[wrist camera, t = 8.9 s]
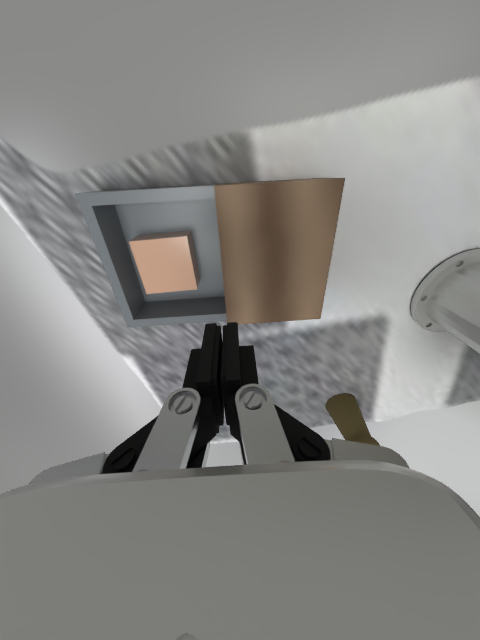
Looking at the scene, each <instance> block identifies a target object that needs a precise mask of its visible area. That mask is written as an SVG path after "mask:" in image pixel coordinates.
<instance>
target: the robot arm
mask: <svg viewBox="0 0 480 640" xmlns="http://www.w3.org/2000/svg"><path fill="white" fill-rule="evenodd" d="M411 314H412V317H413V319H414V320H415V322H416V323H418V324H419V325H420V326H421V327H423V328H424V329H426V330H430V331H436V332H441V331H448V332H450V333H451V334H452V335H454V336H455V337H457V338H458V339H460V340H461V341H463V342H464V343H465V344H467V345H468V346H470V347H471V348H473V349H474V350H476V351H477V352H478V353H480V249H473V250H469V251H465V252H463V253H460V254H458V255H455V256H453V257H452V258H450V259H448V260H446V261H445V262H443V263H442V264H440V265H439V266H438V267H436V268H435V269H434V270H433V271H432V272H431V273H430V274H428V276H427V277H426V278H425V279H424V280H423V281H422V283H421V284H420V286H419V287H418V289H417V290H416V292H415V294H414V296H413V299H412V303H411ZM224 409H225V416H226V423H227V425H230V433H231V435H232V436H233V437H235V438H236V439H237V440H238V441H239V445H240V451H241V456H242V462H243V465H236V466H220V467H205V466H206V461H207V457H208V452H209V448H210V441H211V440H212V439H213V438H214V437H215V436H216V433H219V426H220V425H223V423H224ZM0 640H480V517H479V516H478V515H477V514H476V512H475V511H474V510H473V509H472V508H471V507H470V506H469V505H468V504H467V503H466V502H465V501H464V500H463V499H462V498H461V497H460V496H459V495H457V494H456V493H455V492H454V491H453V490H452V489H450V488H449V487H447V486H446V485H444V484H443V483H441V482H439V481H438V480H435V479H434V478H431V477H429V476H427V475H425V474H423V473H420V472H418V471H415V470H412V469H410V468H409V466H408V465H407V463H406V461H405V460H404V459H403V458H402V457H401V456H400V455H399V454H398V453H396V452H395V451H393V450H392V449H389V448H386V447H382V446H376V445H370V444H364V443H359V442H353V441H347V440H341V439H335V438H332V440H325V439H323V438H322V437H321V436H320V435H319V434H317V433H316V432H314V431H313V430H311V429H310V428H308V427H307V426H305V425H304V424H302V423H301V422H300V421H298V420H297V419H295V418H294V417H292V416H291V415H289V414H288V413H286V412H285V411H283V410H282V409H281V408H279V407H278V406H276V405H275V404H274V403H273V401H272V398H271V395H270V393H269V391H268V390H267V389H266V388H265V387H263V386H261V385H259V383H258V376H257V369H256V361H255V354H254V347H253V345H251V346H239V339H238V324H237V322H229V323H227V325H224V326H223V343H222V334H221V326H217V324H216V323H212V324H206V325H205V331H204V336H203V342H202V348H201V349H192V350H191V353H190V358H189V362H188V366H187V371H186V375H185V379H184V384H183V388H181V389H178V390H176V391H174V392H172V393H171V394H170V395H169V396H168V398H167V399H166V401H165V403H164V405H163V407H162V409H161V411H160V414H159V416H157V417H156V418H155V419H153V420H152V421H151V422H149V423H148V424H147V425H145V426H144V427H143V428H141V429H140V430H139V431H137V432H136V433H135V434H133V435H132V436H131V437H129V438H128V439H127V440H125V441H124V442H123V443H121V444H120V445H119V446H117V447H116V448H115V449H114V450H113V451H112V452H111V453H110V454H105V452H104V453H101V454H97V455H93V456H90V457H86V458H83V459H79V460H76V461H72V462H69V463H65V464H62V465H58V466H55V467H51V468H49V469H47V470H44V471H43V472H41V473H40V474H38V475H37V476H36V477H35V478H34V479H33V480H32V481H31V482H30V483H29V484H28V485H25V486H21V487H18V488H15V489H12V490H10V491H7V492H5V493H2V494H0Z"/></svg>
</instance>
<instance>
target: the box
mask: <svg viewBox="0 0 480 640" xmlns="http://www.w3.org/2000/svg"><path fill="white" fill-rule="evenodd" d="M215 185H216V184H210V185H193V186H176V187H159V188H141V189H124V190H107V191H96V192H86V193H77V194H75V195H76V197H77V200H78V202H79V205H80V207H81V210H82V212H83V215H84V217H85V220H86V223H87V225H88V228H89V230H90V233H91V235H92V238H93V240H94V243H95V245H96V248H97V251H98V253H99V256H100V258H101V261H102V263H103V266H104V268H105V271H106V273H107V276H108V279H109V281H110V284H111V286H112V289H113V291H114V294H115V296H116V299H117V301H118V304H119V307H120V309H121V312H122V314H123V317H124V319H125V322H126V324H127V327H141V326H155V325H169V324H184V323H198V322H213V321H227V315H226V305H225V294H224V284H223V274H222V263H221V253H220V242H219V232H218V221H217V211H216V201H215V190H214V186H215ZM189 230H191V234H192V240H193V245H194V250H195V256H196V261H197V266H198V272H199V277H200V281H199V285H198V289H196V290H185V291H174V292H164V293H153V294H146V291H145V288H144V285H143V282H142V279H141V276H140V273H139V270H138V267H137V264H136V262H135V259H134V256H133V253H132V250H131V247H130V244H129V241H130V240H132V239H133V238H135V237H137V236H138V235H146V234H157V233H168V232H178V231H189Z"/></svg>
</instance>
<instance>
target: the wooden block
mask: <svg viewBox="0 0 480 640" xmlns="http://www.w3.org/2000/svg"><path fill="white" fill-rule="evenodd" d="M344 181H345V178H313V179H296V180H279V181H261V182H244V183H227V184H216V185H215V186H214V190H215V201H216V211H217V221H218V232H219V242H220V253H221V263H222V274H223V284H224V294H225V305H226V315H227V323H229V322H237V324H251V323H265V322H279V321H294V320H308V319H320V318H321V312H322V307H323V301H324V295H325V289H326V284H327V278H328V272H329V267H330V261H331V255H332V249H333V244H334V238H335V232H336V227H337V221H338V215H339V209H340V204H341V198H342V192H343V187H344Z"/></svg>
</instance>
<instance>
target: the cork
mask: <svg viewBox="0 0 480 640" xmlns="http://www.w3.org/2000/svg"><path fill="white" fill-rule="evenodd" d="M326 409H327V411H328V412H329V414H330V416H331V417H332V419H333V420H334V422H335V424H336V425H337V427H338V429H339V430H340V432H341V434H342V435H343V437H344V438H345V440H347V441H353V442H359V443H364V444H370V445H376V446H380V445H379V443H378V442H377V441H376V440H375V439H374V438H373V437H371V435H370V433H369V431H368V428H367V426H366V423H365V421H364V418H363V416H362V413H361V411H360V409H359V406H358V404H357V401H356V399H355V397H354V396H353V395H351V394H346V393H344V394H338V395H335V396H333V397H332V398H330V399H329V400H328V401H327V403H326Z"/></svg>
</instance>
